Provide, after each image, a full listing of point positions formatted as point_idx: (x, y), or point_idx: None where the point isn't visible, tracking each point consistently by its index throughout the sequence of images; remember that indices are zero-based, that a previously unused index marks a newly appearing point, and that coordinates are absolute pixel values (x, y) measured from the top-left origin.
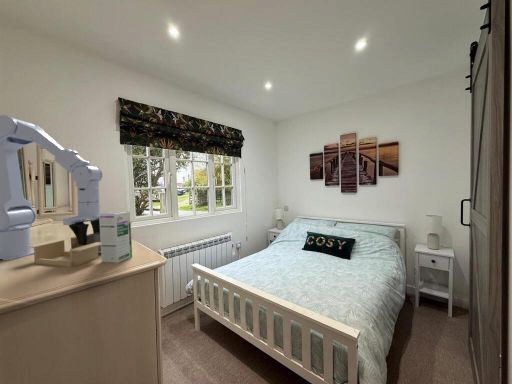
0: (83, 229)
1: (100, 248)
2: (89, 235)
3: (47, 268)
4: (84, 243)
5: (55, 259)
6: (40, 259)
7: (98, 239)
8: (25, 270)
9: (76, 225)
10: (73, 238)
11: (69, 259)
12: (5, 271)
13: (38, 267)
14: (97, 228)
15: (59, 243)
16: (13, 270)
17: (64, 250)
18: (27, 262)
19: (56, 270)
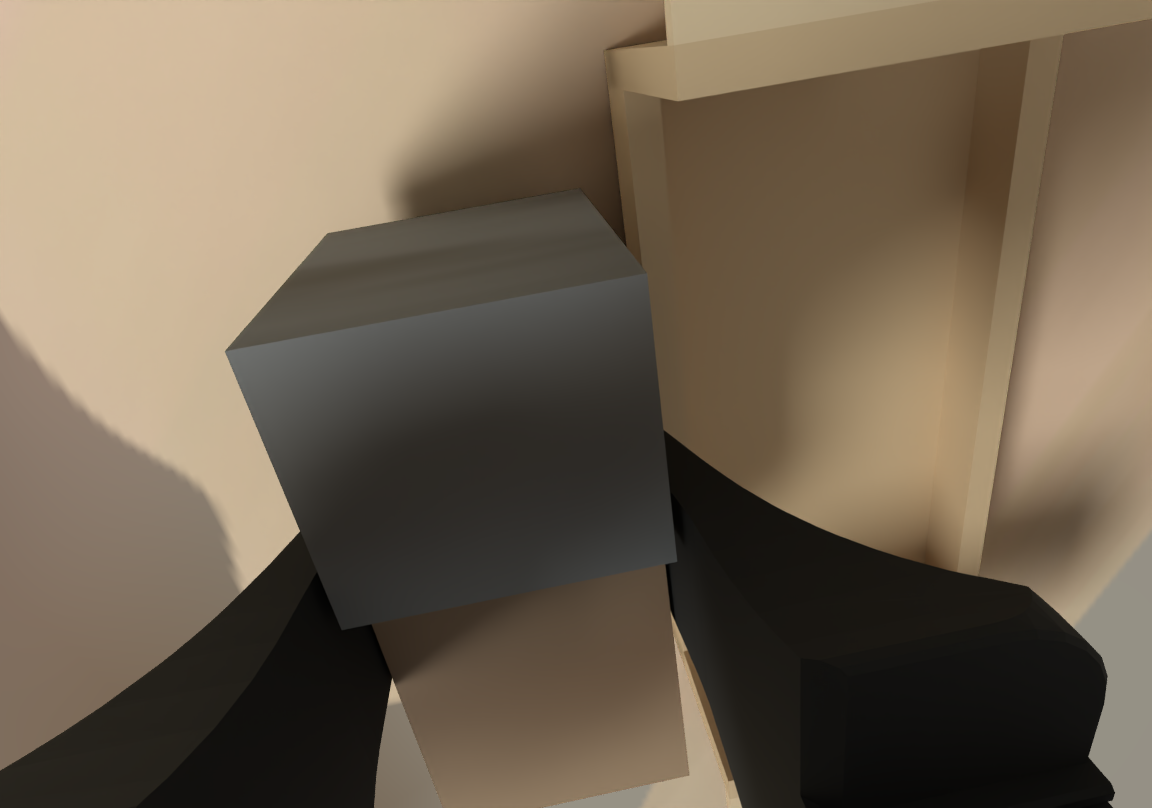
0: (880, 568)
1: (489, 213)
2: (658, 458)
3: (1050, 284)
4: (672, 437)
5: (820, 521)
6: (981, 534)
7: (534, 259)
8: (1107, 427)
9: (1076, 763)
10: (680, 724)
11: (784, 380)
12: (1128, 551)
13: (1026, 414)
14: (320, 740)
15: None
16: (1106, 523)
17: (687, 655)
18: None
19: (1111, 85)
